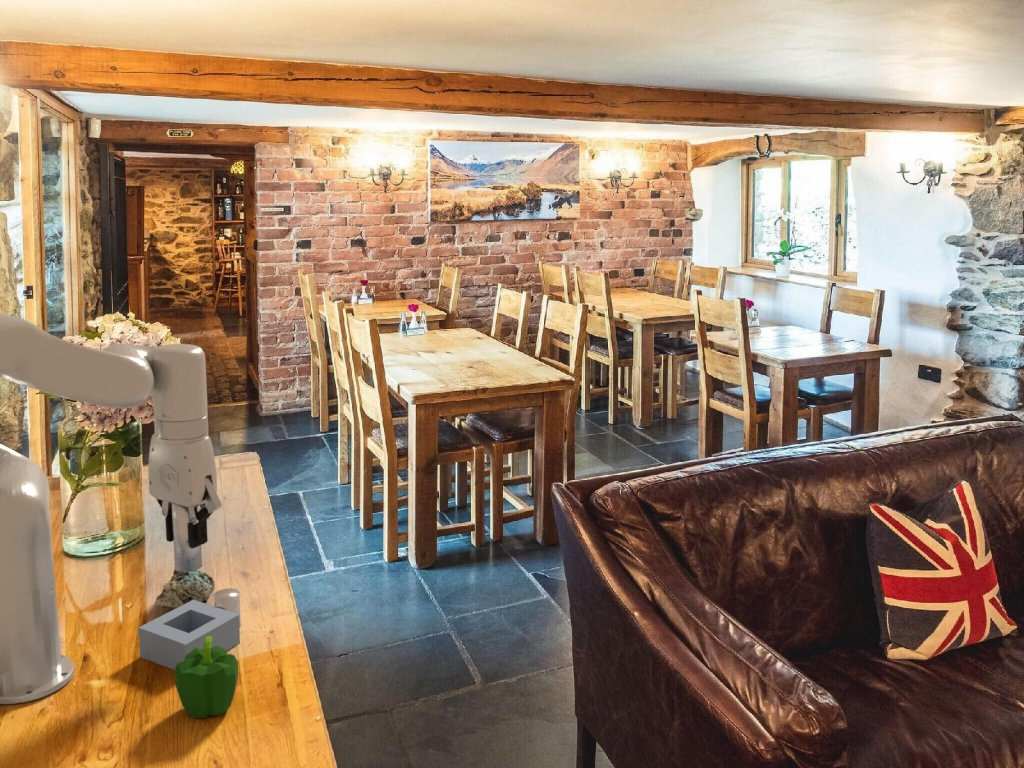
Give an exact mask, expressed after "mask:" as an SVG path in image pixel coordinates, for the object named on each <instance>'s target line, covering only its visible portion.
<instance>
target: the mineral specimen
mask: <svg viewBox="0 0 1024 768" xmlns="http://www.w3.org/2000/svg"><path fill="white" fill-rule="evenodd" d="M162 587H163V588H162V589H161V590H162V591H161V593H160V594H159V595H158V596H157V597H156V599H155V601H154V605H156V606H158V607H161V608H162V609H165V608H166V607H167V608H170V609H176V608H178V607H180V606H182V605H184V604H186V603H188V602H190V601H192V600H196V601H199V602H202V603H203V602H208V600H210V599H209V598H210V596H211V594H212V593H213V592H214V590H215V580H214V578H213V577H212V576H210V575H209V574H208V573H206V572H205V571H204V572H203V571H201V570H199V569H198V570H195V571H191V572H180V571H177V570H175V566H174V571H173V575H172V576H171V578H170V580H169V581H167V582H164V583H163V584H162Z"/></svg>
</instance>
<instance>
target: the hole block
mask: <svg viewBox="0 0 1024 768" xmlns="http://www.w3.org/2000/svg"><path fill="white" fill-rule="evenodd" d="M240 635H241V632H240V628H239V615H238V614H235V613H232V612H229V611H226V610H223V609H220V608H217V607H215V605H214V606H213V605H211V604H208V603H205V602H203V601H202V602H199V601H196V600H192V601H190V602H188V603H186V604H184V605H182V606H180V607H178V608H173V609H172V610H170V611H168V612H166V613H164V614H162V615H160V616H159V617H156V618H154V619H152V620H151V621H148V622H147V623H145V624H143V625H141V626H138V642H139V644H138V645H139V657H140V658H142V659H144V660H147V661H150V662H152V663H155V664H157V665H160V666H162V667H165V668H168V669H171V670H173V671H174V670H175V668H176V666H177V663H179V662H181V661H184V660H185V657H186V655H187V654H188V653H189V652H191V651H192V650H193V649H194V648H202V649H203V648H204V641H205V638H206V637H207V636H211V637H212V642H211V647H214V646H217V645H219V646H220V647H221V648H223V649H224V650H226V652H227V651H229V650H230V649H232V648H234V647H235V646H238V645H239V644H240V643H241V639H240Z"/></svg>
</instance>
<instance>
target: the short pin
mask: <svg viewBox="0 0 1024 768" xmlns="http://www.w3.org/2000/svg"><path fill="white" fill-rule="evenodd" d="M240 594H241V593H240V590H239V589H236V588H231V587H230V588H222V589H219V590H216V591H215V593H214V595H213V597H214V598H213V599H214V600H213V601H214V607H217V608H220V609H223V610H226V611H229V612H232V613H235V614H238V615H239V629H240V628H241V598H240V597H241V595H240Z"/></svg>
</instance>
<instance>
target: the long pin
mask: <svg viewBox="0 0 1024 768" xmlns="http://www.w3.org/2000/svg"><path fill="white" fill-rule="evenodd" d="M199 510H200V505H199V506H197V512H199ZM172 521H173V541H172V542H173V557H174V559H173V560H174V567H175V568H174V570H177V571H180V572H191V571H195V570H198V571H199V570H200V569H201V568H203V553H202V552H203V551H202V545H200V546H198V547H196V548H190V547H189V539H188V524H189V523H191V519H190V514H189V509H188V507H186V506H182V505H178V504H174V503H172Z"/></svg>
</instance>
